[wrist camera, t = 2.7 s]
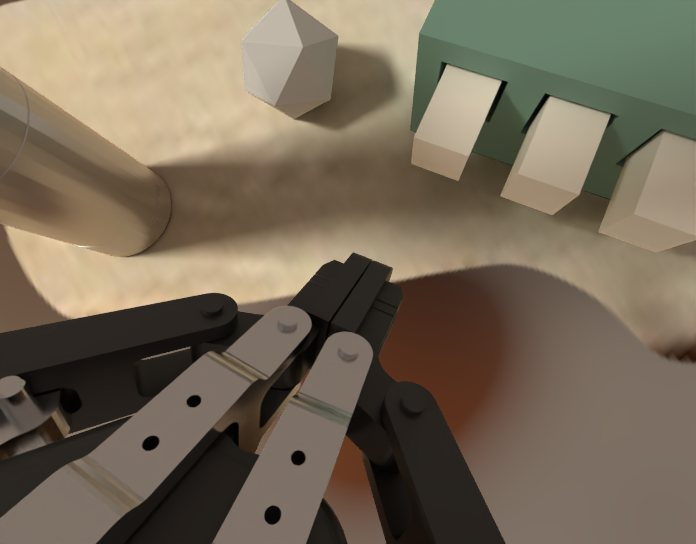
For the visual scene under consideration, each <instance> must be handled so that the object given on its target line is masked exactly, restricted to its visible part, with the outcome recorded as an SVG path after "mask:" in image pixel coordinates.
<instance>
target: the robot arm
mask: <svg viewBox="0 0 696 544" xmlns="http://www.w3.org/2000/svg"><path fill="white" fill-rule="evenodd" d="M170 214H171V197H170V193H169V190H168V188H167V185H166V184H165V183H164V181H163V180H162V179H161V178H160V177H159V176H158V175H157V174H156V173H154V172H153V171H151V170H150V169H149V168H147V167H146V166H144V165H143V164H141V163H140V162H138V161H137V160H136V159H134V158H133V157H131V156H130V155H129V154H127V153H126V152H124V151H123V150H121V149H120V148H118V147H117V146H115V145H114V144H113V143H111V142H110V141H108V140H107V139H105V138H104V137H102V136H101V135H99V134H98V133H97V132H95V131H94V130H92V129H91V128H89V127H88V126H86V125H85V124H83V123H82V122H80V121H79V120H78V119H76V118H75V117H73V116H72V115H70V114H69V113H67V112H66V111H64V110H63V109H62V108H60V107H59V106H57V105H56V104H54V103H53V102H51V101H50V100H48V99H47V98H45V97H44V96H43V95H41V94H40V93H38V92H37V91H35V90H34V89H32V88H31V87H29V86H28V85H27V84H25V83H24V82H22V81H21V80H19V79H18V78H16V77H15V76H13V75H12V74H11V73H9V72H8V71H6V70H5V69H3V68H1V67H0V224H3V225H7V226H10V227H14V228H17V229H21V230H24V231H28V232H31V233H35V234H38V235H42V236H45V237H49V238H52V239H56V240H59V241H63V242H66V243H70V244H73V245H76V246H79V247H83V248H87V249H90V250H94V251H97V252H101V253H104V254H108V255H111V256H119V257H125V256H131V255H134V254H137V253H140V252H142V251H144V250H145V249H147V248H149V247H150V246H151V245H152V244H153V243H154V242H156V241H157V240H158V238H159V237H160V236H161V234H162V233H163V232H164V230H165V228H166V226H167V224H168V221H169V217H170ZM392 271H393V268H392V267H389V266H387V265H384V264H381V263H379V262H376V261H373V260H371V259H369V258H366V257H364V256H361V255H359V254H356V253H352V254H351V255H350V257H349V258H348V259H347V260H346V262H345V263H344V264H343V263H341V262H339V261H336V260H333V261H331V262H329V263H326V264H324V265H323V266H322V267H321V268H320V269H319V270H318V271H317V272H316V274H315V275H314V276H313V277H312V278H311V279H310V281H309V282H308V283H307V284H306V285H305V286H304V287H303V288H302V289H301V291H300V292H299V293H298V294H297V295H296V296H295V297H294V299H293V300H292V301H291V302H290V303H289V304H288V305H287V306H280V307H276V308H273V309H272V310H270V311H269V312H268V313H266V314H265V315H258V314H251V313H245V312H239V311H238V310H237V309H238V307H237V304H236V302H235V301H234V300H233V299H232V298H231V297H229V296H227V295H224V294H220V293H208V294H202V295H197V296H192V297H187V298H182V299H176V300H171V301H166V302H161V303H155V304H150V305H145V306H140V307H135V308H129V309H124V310H119V311H114V312H109V313H103V314H98V315H93V316H88V317H83V318H77V319H72V320H67V321H62V322H56V323H51V324H46V325H41V326H36V327H31V328H25V329H20V330H15V331H10V332H4V333H0V544H347V541H346V538H345V534H344V531H343V529H342V527H341V524H340V522H339V520H338V518H337V516H336V515H335V513H334V511H333V509H332V508H331V507H330V506H329V504H328V503H327V502H326V500H325V499H324V498H323V495H324V493H325V490H326V487H327V484H328V481H329V479H330V476H331V473H332V471H333V468H334V465H335V462H336V459H337V456H338V454H339V451H340V448H341V445H342V443H343V440H344V437H345V435H346V436H347V437H348V438H350V440H351V441H352V442H353V443H354V444H355V445H356V446H357V447H359V449H360V450H362V458H363V463H364V466H365V470H366V473H367V477H368V480H369V484H370V487H371V491H372V494H373V498H374V502H375V505H376V509H377V512H378V515H379V519H380V522H381V526H382V529H383V533H384V536H385V540H386V544H505V542H504V540H503V538H502V536H501V533H500V531H499V529H498V527H497V525H496V523H495V521H494V519H493V518H492V515H491V513H490V511H489V509H488V507H487V505H486V503H485V501H484V499H483V496H482V494H481V492H480V490H479V488H478V486H477V484H476V482H475V480H474V478H473V476H472V474H471V472H470V470H469V468H468V466H467V464H466V462H465V460H464V458H463V456H462V454H461V452H460V449H459V447H458V445H457V443H456V441H455V439H454V437H453V435H452V433H451V431H450V429H449V427H448V425H447V423H446V421H445V419H444V416H443V415H442V412H441V410H440V408H439V406H438V404H437V402H436V400H435V399H434V397H433V396H432V395H431V394H430V392H429V391H428V390H426V389H425V388H424V387H422V386H420V385H418V384H416V383H413V382H407V381H406V382H405V381H404V382H398V383H397V382H396V381H394V379H392V378H391V377H390V376H389V375H388V374H387V373H386V372H385V371H384V370H383V368H382V366H381V364H380V362H379V359H378V356H379V354H380V351H381V350H382V347H383V345H384V343H385V341H386V339H387V336H388V334H389V332H390V330H391V328H392V325H393V323H394V320H395V317H396V314H397V312H398V309H399V307H400V304H401V301H402V298H403V297H402V290H401V287H400V286H398V285H395V284H393V283H390V282H389V280H390V277H391V274H392ZM186 347H190V349H186V350H183V351H179V352H175V353H171V354H167V355H163V356H160V357H155V358H151V359H147V360H141V359H143V358H146V357H150V356H154V355H158V354H162V353H166V352H170V351H174V350H178V349H182V348H186ZM309 369H311V370H310V373H309V374H308V376H307V378H306V380H305V382H304V384H303V386H302V388H301V389H300V391H299V393H298V394H297V395H295V393H296V392H297V391H298V389H299V388H300V386H301V382H302V380H303V378H304V376H305V375H306V373H307V372H308V370H309ZM286 405H287V406H286ZM285 407H286V408H285ZM284 408H285V409H284ZM283 409H284V411H283V413H282V415H281V417H280V419H279V421H278V423H277V424H276V426H275V428H274V430H273V432H272V434H271V435H270V437H269V439H268V441H267V443H266V445H265V446H264V448H263V450H262V452H261V454H260V455H258V454H255V452H256V450H257V448H258V445H259V443H260V441H261V439H262V437H263V435H264V434H265V433H266V431H267V430H268V429H269V427H270V426H271V425H272V424H273V422H274V421H275V420H276V418H277V417H278V416H279V414H280V413H281V412H282V410H283ZM133 413H136V414H135V415H134V416H129V417H126V418H123V419H120V420H117V421H114V422H111V423H108V424H105V425H102V426H100V427H96V428H94V429H91V430H88V431H85V432H82V433H79V434H76V435H73V436H70V437H68V438H65V437H66V436H67V434H70V433H73V432H77V431H80V430H83V429H86V428H89V427H92V426H96V425H99V424H102V423H105V422H108V421H111V420H115V419H118V418H121V417H124V416H127V415H131V414H133ZM64 438H65V439H64Z"/></svg>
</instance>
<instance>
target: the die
mask: <svg viewBox="0 0 696 544" xmlns="http://www.w3.org/2000/svg"><path fill="white" fill-rule="evenodd" d="M337 43H338V35H337V34H335V33H334V32H332V31H331V30H330V29H328V28H327V27H326V26H324V25H323V24H322V23H320V22H319V21H318V20H316V19H315V18H313V17H312V16H311V15H309V14H308V13H307V12H305V11H304V10H303V9H301V8H300V7H299V6H297V5H296V4H295V3H293V2H292V1H290V0H280V1H278V2H277V3H276V4H275V5H274V6H273V7H272V8H271V9H270V10H269V11H268V12H267V13H265V14H264V15H263V16H262V17H261V18H260V19H259V20H258V21H257V22H256V23H255V24H254V25H253V26H251V27H250V28H249V29H248V31H247V33H246V35H245V37H244V39H243V40H242V58H243V75H244V90H245V91H247V92H248V93H250V94H252V95H253V96H255V97H257V98H258V99H260V100H262V101H264V102H265V103H267V104H269V105H270V106H272V107H274V108H276V109H277V110H279V111H281V112H282V113H284V114H286V115H288V116H289V117H291V118H293V119H295V118H297V117H299V116H301V115H303V114H305V113H306V112H308V111H310V110H312V109H314V108H316V107H318V106H319V105H321V104H323V103H325V102H327V101H329V100H330V99H331V93H332V85H333V77H334V68H335V60H336V52H337Z"/></svg>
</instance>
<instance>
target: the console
mask: <svg viewBox="0 0 696 544" xmlns="http://www.w3.org/2000/svg"><path fill="white" fill-rule="evenodd" d="M448 63H449V64H452V65H455V66H458V67H462V68H465V69H468V70H471V71H475V72H478V73H481V74H484V75H488V76H491V77H494V78H497V79H501V80H502V82H501V84H500V86H499V89H498V91H497V93H496V96H495V98H494V100H493V103H492V105H491V107H490V110H489V112H488V114H487V116H486V119H485V121H484V123H483V126H482V128H481V130H480V132H479V135H478V137H477V139H476V142H475V144H474V146H473V148H472V152H475V153H478V154H481V155H484V156H487V157H489V158H492V159H495V160H498V161H501V162H504V163H507V164H510V165H512V166H513V164H514V162H515V160H516V157H517V155H518V152H519V150H520V148H521V145H522V143H523V141H524V138H525V136H526V133H527V131H528V129H529V126H530V125H531V123H532V122H533V120H534V119H535V117H536V116H537V114H538V112H539V111H540V109H541V108H542V106H543V105H544V103H545V102H546V100H547V99H548V97H549V96H550V95H553V96H556V97H559V98H563V99H566V100H569V101H572V102H576V103H579V104H582V105H585V106H589V107H592V108H595V109H598V110H602V111H605V112H608V113H611V115H610V118H609V120H608V123H607V126H606V128H605V131H604V133H603V136H602V138H601V141H600V143H599V146H598V148H597V151H596V154H595V156H594V159H593V161H592V164H591V166H590V169H589V171H588V174H587V176H586V179H585V181H584V184H583V187H582V189H581V190H584V191H587V192H590V193H593V194H596V195H599V196H602V197H604V198H607V199H610V200H611V197H612V194H613V192H614V189H615V187H616V184H617V181H618V179H619V176H620V173H621V171H622V168H623V166H624V163H625V160H626V158H627V157H628V156H629V155H630V154H632V153H633V152H634V151H636V150H637V149H638V148H640V147H641V146H642V145H644V144H645V143H646V142H648V141H649V140H650V139H652V138H653V137H654V136H655V135H657V134H658V133H659V132H661V131H662V130H663V129H664V130H667V131H670V132H673V133H677V134H680V135H683V136H687V137H690V138H693V139H696V0H435V1H434V4H433V6H432V8H431V10H430V12H429V14H428V16H427V18H426V20H425V23H424V25H423V27H422V29H421V31H420V33H419V42H418V53H417V64H416V74H415V85H414V96H413V107H412V118H411V129H410V130H412V131H415V132H416V131H417V129H418V127H419V125H420V123H421V120H422V118H423V116H424V114H425V112H426V110H427V107H428V105H429V103H430V101H431V99H432V96H433V94H434V92H435V90H436V88H437V86H438V83H439V81H440V79H441V77H442V75H443V73H444V70H445V68H446V66H447V64H448Z"/></svg>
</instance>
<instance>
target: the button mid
mask: <svg viewBox="0 0 696 544" xmlns="http://www.w3.org/2000/svg"><path fill="white" fill-rule="evenodd" d="M610 115H611V113H608V112H605V111H602V110H598V109H595V108H592V107H589V106H585V105H582V104H579V103H576V102H572V101H569V100H566V99H563V98H559V97H556V96H553V95H550V96H549V97H548V99H547V100H546V102H545V103H544V105H543V106H542V108H541V109H540V111H539V112H538V114H537V116H536V117H535V119H534V120H533V122H532V123H531V125H530V126H529V129H528V131H527V133H526V136H525V138H524V141H523V143H522V145H521V148H520V150H519V152H518V155H517V157H516V160H515V162H514V164H513V167H512V169H511V172H510V174H509V176H508V179H507V181H506V183H505V186H504V188H503V191H502V193H501V195H500V196H501V197H503V198H506V199H509V200H512V201H514V202H517V203H520V204H523V205H525V206H528V207H531V208H533V209H536V210H539V211H542V212H544V213H547V214H550V215H553V214H555V213H556V212H557V211H559V210H560V209H561V208H563V207H564V206H565V205H567V204H568V203H569V202H571V201H572V200H573V199H575V198H576V197H577V196H579V194H580V192H581V189H582V187H583V184H584V181H585V179H586V176H587V174H588V171H589V169H590V166H591V164H592V161H593V159H594V156H595V154H596V151H597V148H598V146H599V143H600V141H601V138H602V136H603V133H604V131H605V128H606V126H607V123H608V120H609V118H610Z"/></svg>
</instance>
